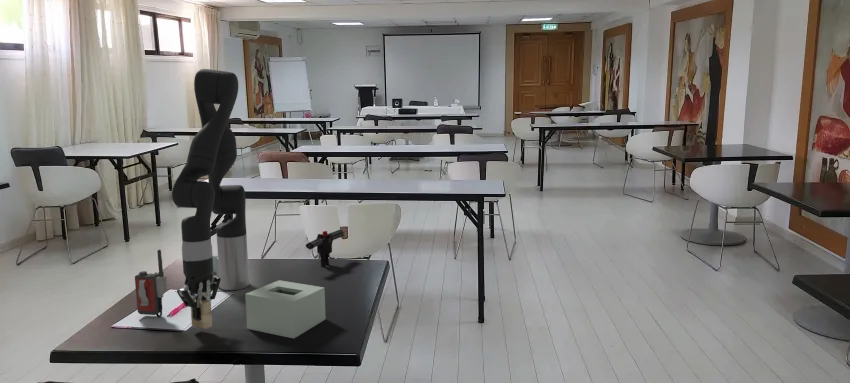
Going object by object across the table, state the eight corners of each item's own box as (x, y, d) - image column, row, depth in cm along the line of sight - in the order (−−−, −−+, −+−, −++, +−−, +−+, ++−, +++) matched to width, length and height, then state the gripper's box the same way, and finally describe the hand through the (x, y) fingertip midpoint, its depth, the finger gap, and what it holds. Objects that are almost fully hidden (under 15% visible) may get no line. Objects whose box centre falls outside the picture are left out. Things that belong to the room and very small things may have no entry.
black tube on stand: (347, 266, 234) (346, 226, 232) (316, 280, 217) (315, 237, 214) (335, 264, 236) (333, 225, 234) (304, 278, 219) (302, 236, 217)
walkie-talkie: (170, 315, 183) (165, 248, 180) (161, 321, 179) (156, 252, 176) (143, 314, 185) (137, 247, 182) (133, 319, 180) (127, 251, 177)
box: (247, 329, 172) (245, 293, 171) (280, 313, 185) (279, 280, 183) (294, 339, 165) (292, 302, 164) (325, 321, 177) (324, 287, 176)
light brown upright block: (191, 325, 170) (190, 301, 169) (198, 322, 172) (197, 298, 171) (205, 329, 168) (204, 303, 167) (212, 326, 170) (210, 301, 169)
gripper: (206, 248, 175) (210, 308, 178) (166, 260, 163) (170, 324, 165) (227, 251, 171) (230, 312, 174) (187, 264, 159) (191, 329, 162)
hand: (201, 318), depth 170 cm, fingers closed on light brown upright block, 2 cm apart
